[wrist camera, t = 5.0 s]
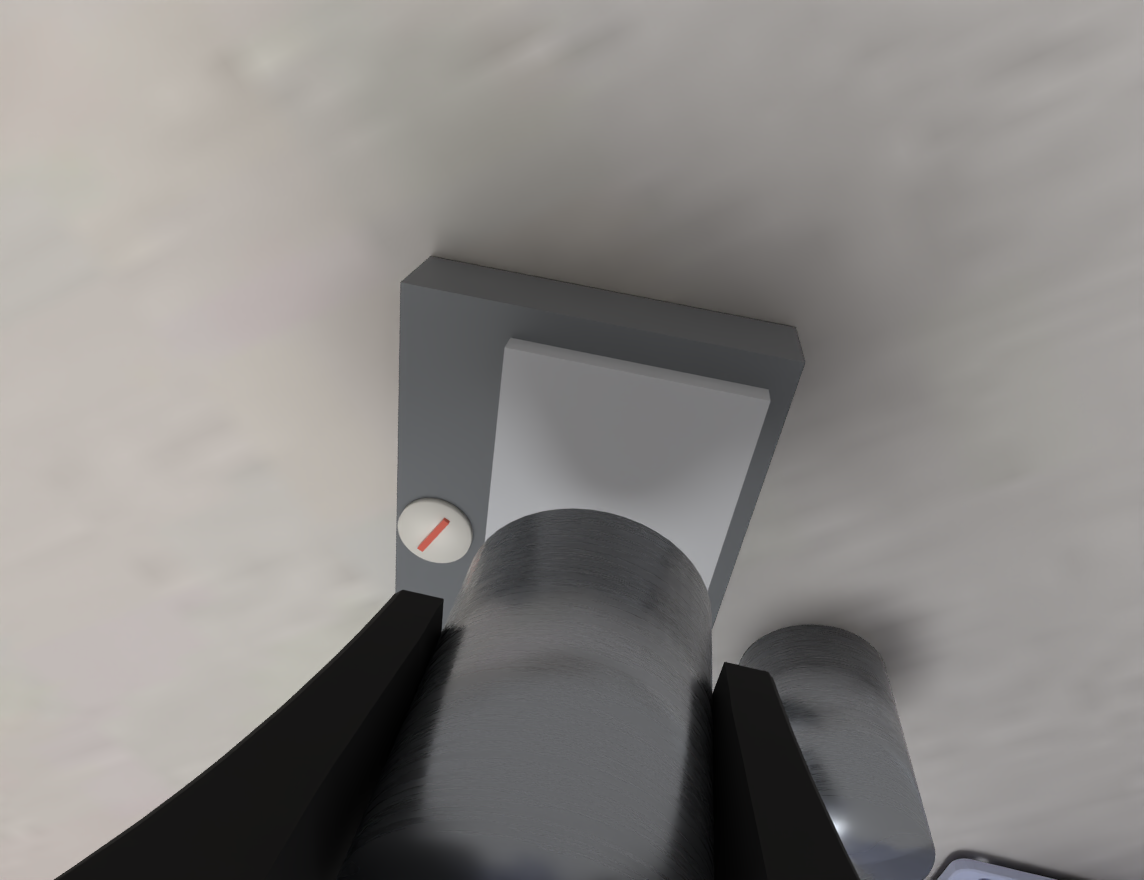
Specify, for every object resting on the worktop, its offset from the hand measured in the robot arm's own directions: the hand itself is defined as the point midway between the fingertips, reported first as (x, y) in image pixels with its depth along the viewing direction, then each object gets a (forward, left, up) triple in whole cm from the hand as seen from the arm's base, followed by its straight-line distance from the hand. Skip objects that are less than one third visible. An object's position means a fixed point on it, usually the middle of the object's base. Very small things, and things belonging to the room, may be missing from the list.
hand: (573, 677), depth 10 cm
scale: (+1, +3, -8) cm, 8 cm away
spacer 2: (-7, +7, -8) cm, 12 cm away
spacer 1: (0, 0, -2) cm, 2 cm away
